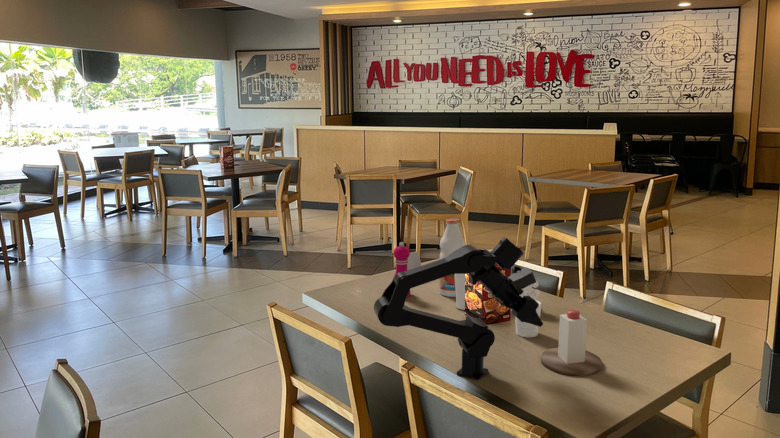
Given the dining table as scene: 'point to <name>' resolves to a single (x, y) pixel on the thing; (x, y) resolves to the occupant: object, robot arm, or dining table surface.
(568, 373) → the walnut serving board
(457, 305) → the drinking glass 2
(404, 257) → the pepper mill
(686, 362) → the dining table surface
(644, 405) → the dining table surface
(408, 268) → the tea bag
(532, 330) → the white cup
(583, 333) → the square squeeze bottle
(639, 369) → the dining table surface
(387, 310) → the robot arm
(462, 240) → the fruit juice
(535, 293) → the character figurine
